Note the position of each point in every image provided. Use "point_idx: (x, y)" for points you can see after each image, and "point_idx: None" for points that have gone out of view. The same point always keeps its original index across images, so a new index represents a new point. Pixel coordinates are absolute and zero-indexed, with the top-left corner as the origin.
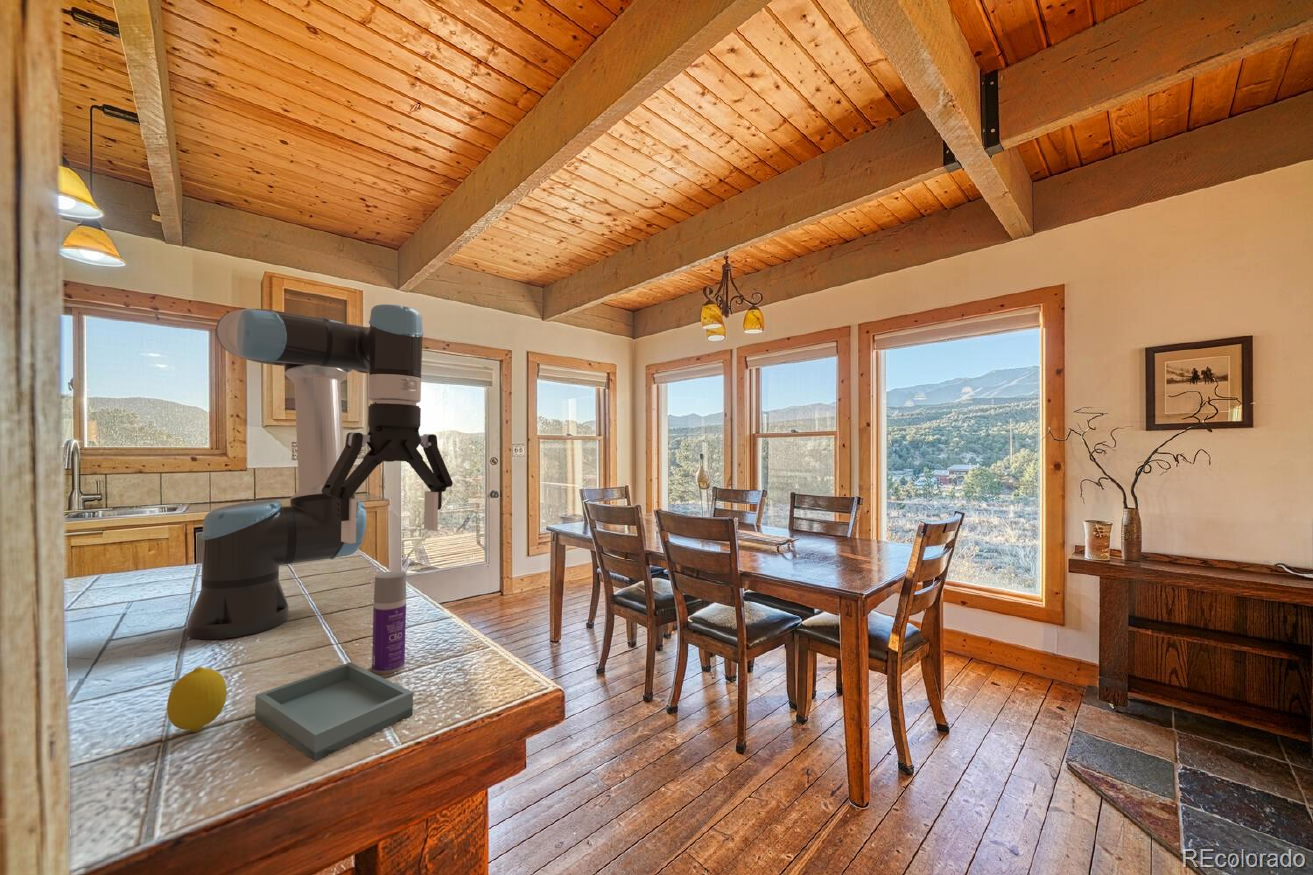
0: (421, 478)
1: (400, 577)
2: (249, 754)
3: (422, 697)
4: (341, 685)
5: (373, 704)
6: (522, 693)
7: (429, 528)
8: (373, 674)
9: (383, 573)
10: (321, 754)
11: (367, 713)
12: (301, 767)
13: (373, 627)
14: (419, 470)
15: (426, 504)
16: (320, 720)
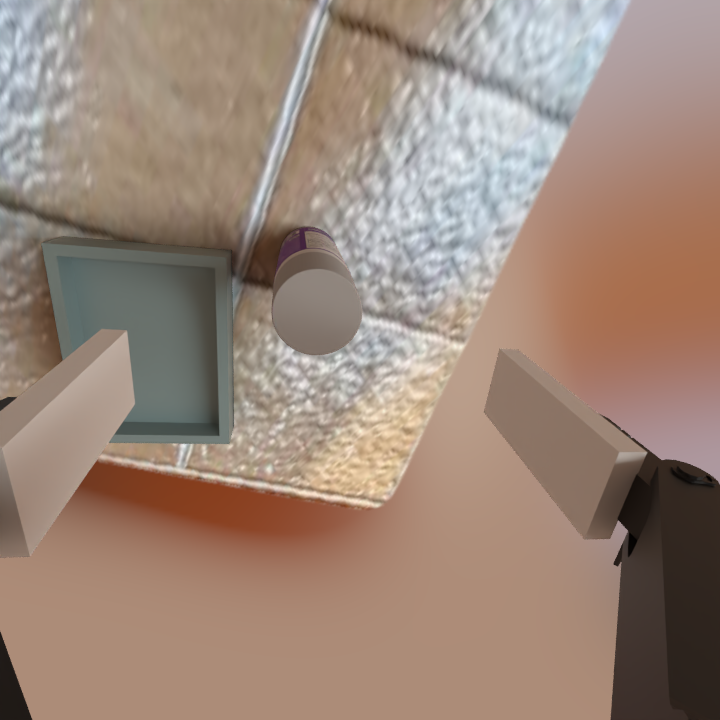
0: (657, 540)
1: (320, 353)
2: (31, 340)
3: (273, 396)
4: (199, 278)
5: (201, 380)
6: (357, 489)
7: (492, 390)
8: (225, 343)
9: (312, 282)
10: None
11: (154, 442)
12: None
13: (277, 264)
14: (632, 673)
15: (560, 422)
16: None
